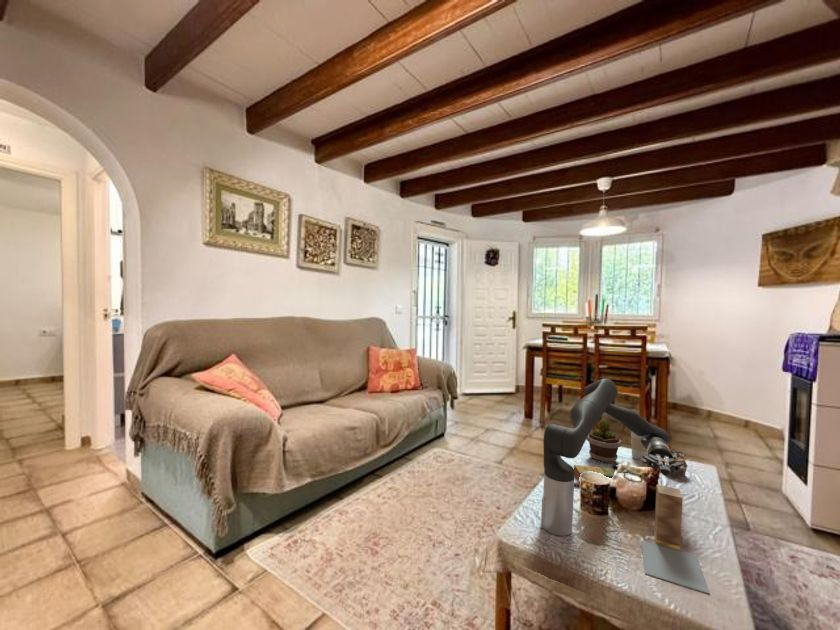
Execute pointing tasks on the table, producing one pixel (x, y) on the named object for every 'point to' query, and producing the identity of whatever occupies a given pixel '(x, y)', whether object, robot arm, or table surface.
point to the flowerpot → (603, 443)
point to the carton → (605, 471)
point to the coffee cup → (637, 446)
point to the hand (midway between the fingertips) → (665, 472)
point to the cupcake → (679, 458)
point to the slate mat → (673, 566)
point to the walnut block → (668, 517)
